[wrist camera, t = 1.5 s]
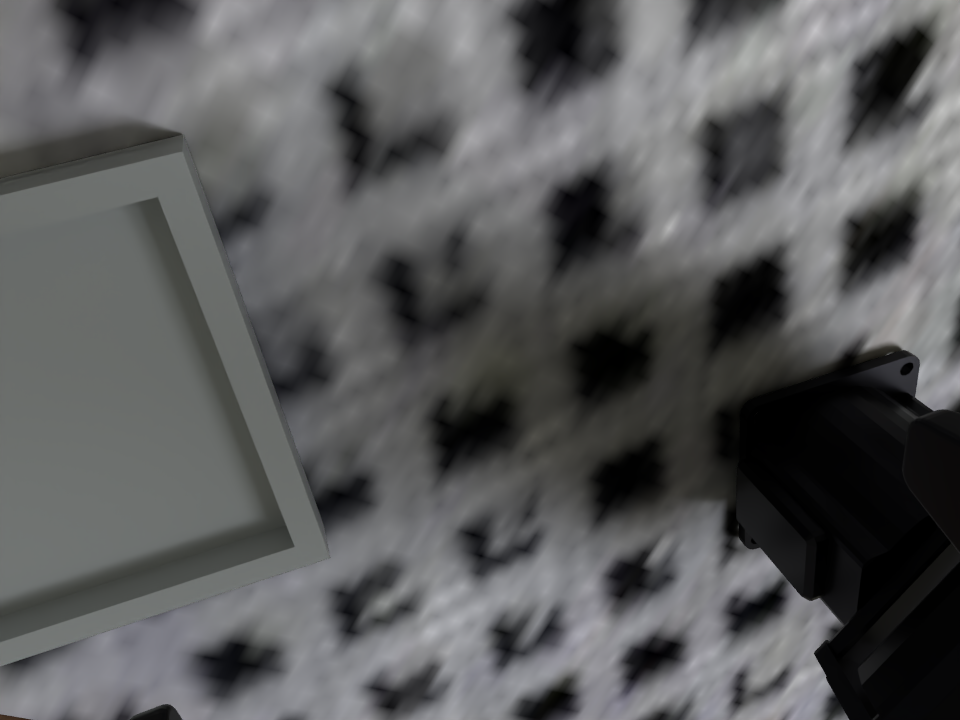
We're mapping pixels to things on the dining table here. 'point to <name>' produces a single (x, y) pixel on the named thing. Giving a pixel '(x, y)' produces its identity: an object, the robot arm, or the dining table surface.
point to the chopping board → (11, 718)
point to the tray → (132, 406)
